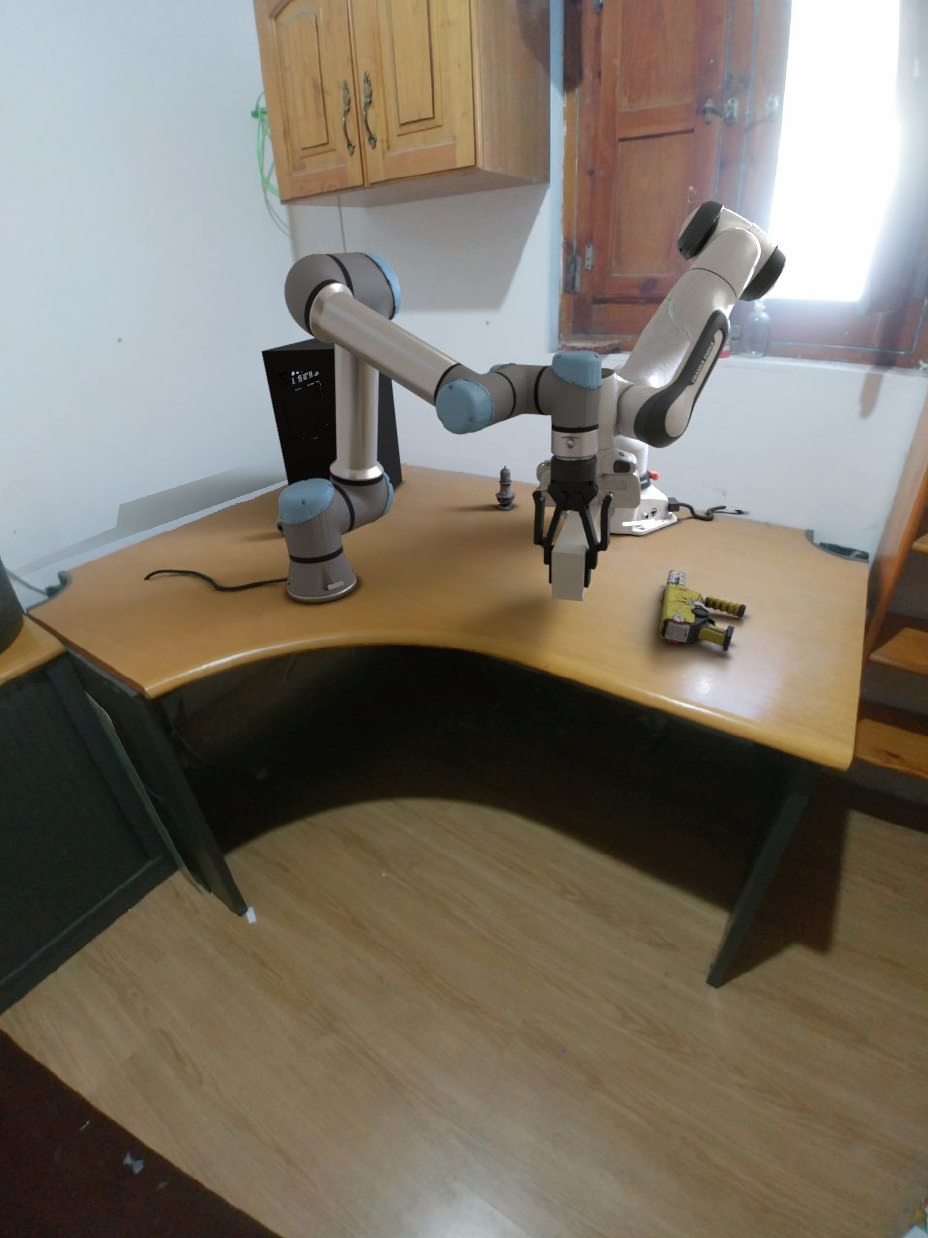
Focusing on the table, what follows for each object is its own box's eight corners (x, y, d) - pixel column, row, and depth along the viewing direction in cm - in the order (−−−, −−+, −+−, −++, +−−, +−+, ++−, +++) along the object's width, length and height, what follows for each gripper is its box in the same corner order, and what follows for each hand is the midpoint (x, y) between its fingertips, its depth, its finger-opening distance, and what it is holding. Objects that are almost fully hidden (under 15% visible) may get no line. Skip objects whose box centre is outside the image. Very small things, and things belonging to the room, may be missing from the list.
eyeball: (273, 537, 164) (268, 516, 161) (287, 528, 169) (282, 508, 166) (291, 539, 161) (286, 518, 158) (305, 530, 166) (301, 510, 163)
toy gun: (745, 580, 121) (669, 567, 125) (754, 637, 101) (663, 618, 105) (739, 601, 124) (664, 587, 127) (746, 660, 103) (657, 641, 107)
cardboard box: (360, 522, 170) (335, 348, 148) (295, 519, 175) (261, 351, 152) (402, 481, 202) (386, 333, 179) (346, 480, 206) (324, 335, 184)
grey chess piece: (514, 510, 172) (514, 468, 166) (494, 509, 173) (493, 468, 167) (517, 503, 177) (516, 462, 171) (497, 502, 178) (496, 462, 172)
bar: (575, 537, 129) (576, 495, 124) (601, 538, 128) (603, 496, 123) (551, 598, 110) (551, 551, 105) (582, 601, 108) (583, 554, 103)
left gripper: (512, 458, 98) (514, 585, 110) (629, 463, 92) (618, 597, 104) (524, 447, 104) (525, 568, 116) (635, 451, 98) (624, 579, 110)
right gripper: (534, 464, 116) (534, 531, 123) (645, 464, 112) (638, 534, 119) (538, 455, 121) (537, 520, 128) (643, 455, 117) (636, 522, 124)
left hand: (569, 582), depth 110 cm, fingers closed on bar, 6 cm apart
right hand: (586, 526), depth 124 cm, fingers closed on bar, 6 cm apart
